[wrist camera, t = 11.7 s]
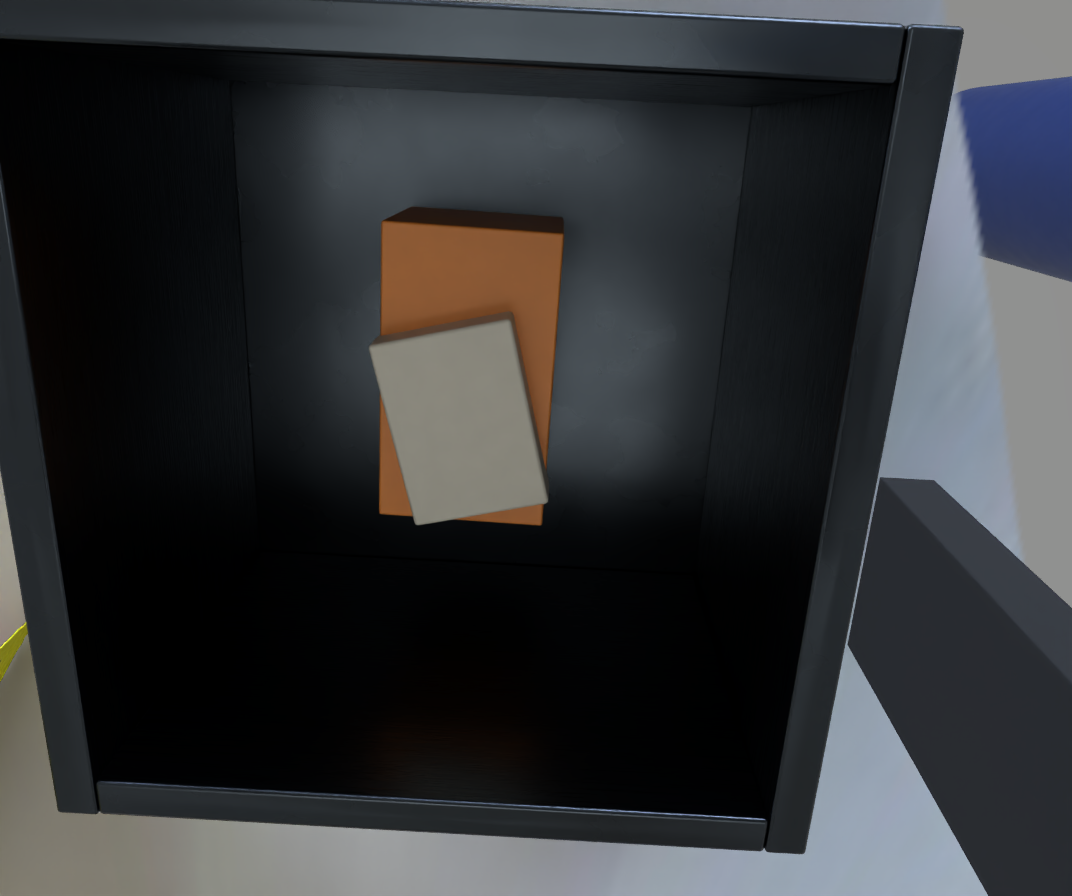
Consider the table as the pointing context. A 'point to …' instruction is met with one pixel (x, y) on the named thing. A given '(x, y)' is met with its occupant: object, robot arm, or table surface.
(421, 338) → the orange and grey block
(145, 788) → the black open storage box
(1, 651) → the food package
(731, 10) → the table surface
